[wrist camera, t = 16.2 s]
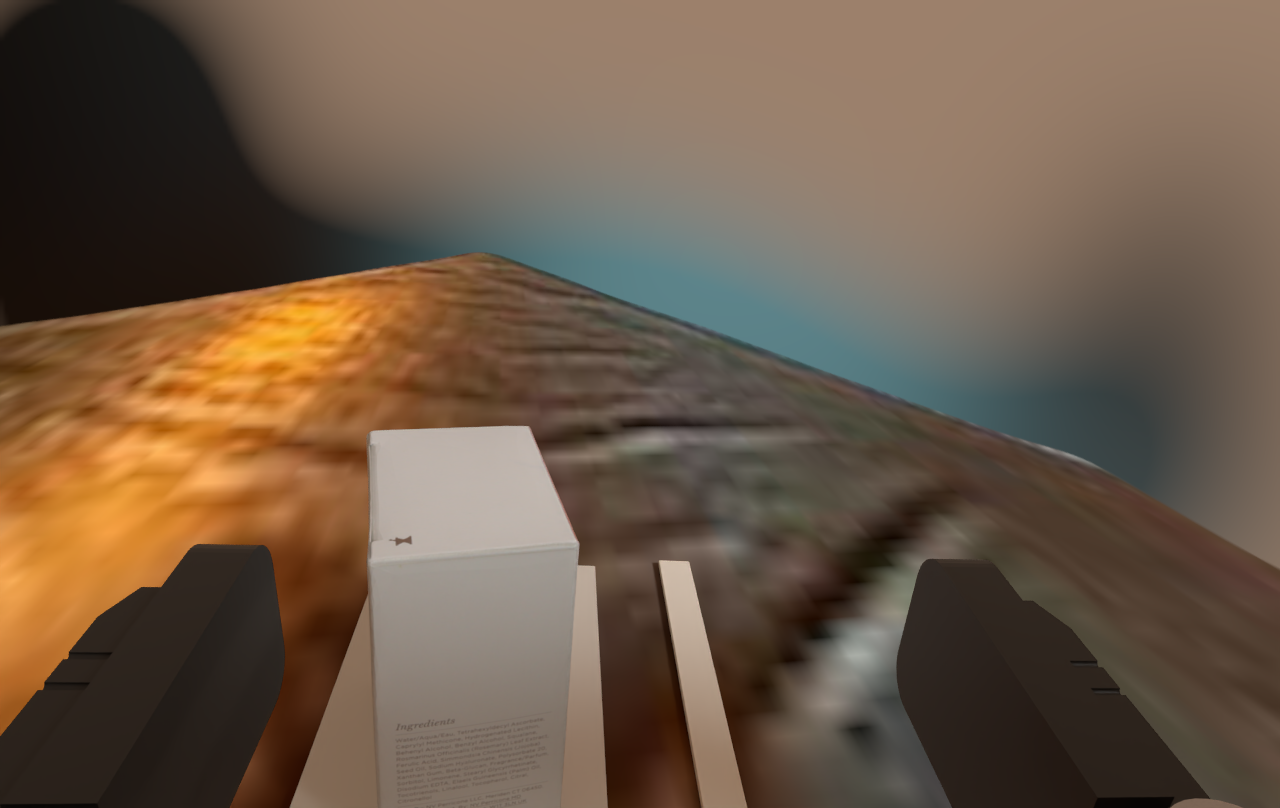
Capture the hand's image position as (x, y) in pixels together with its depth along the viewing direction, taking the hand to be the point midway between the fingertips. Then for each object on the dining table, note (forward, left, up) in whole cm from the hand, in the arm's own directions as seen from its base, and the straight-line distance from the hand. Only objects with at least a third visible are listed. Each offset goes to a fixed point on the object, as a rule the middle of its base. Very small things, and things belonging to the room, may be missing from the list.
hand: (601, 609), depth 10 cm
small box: (+3, -14, -16) cm, 22 cm away
